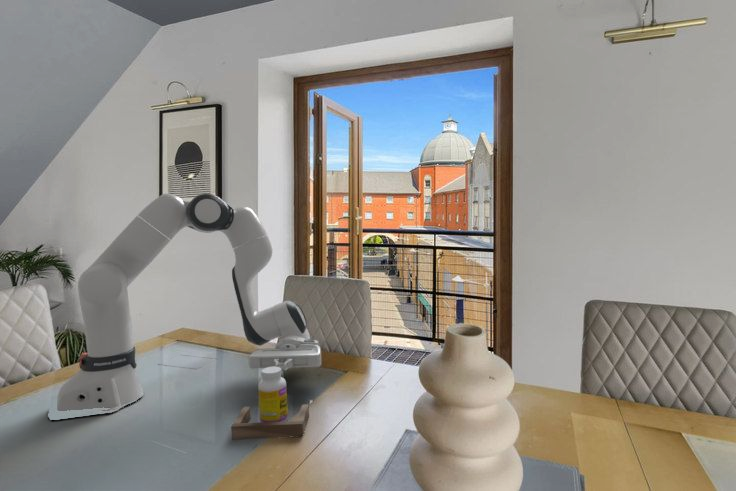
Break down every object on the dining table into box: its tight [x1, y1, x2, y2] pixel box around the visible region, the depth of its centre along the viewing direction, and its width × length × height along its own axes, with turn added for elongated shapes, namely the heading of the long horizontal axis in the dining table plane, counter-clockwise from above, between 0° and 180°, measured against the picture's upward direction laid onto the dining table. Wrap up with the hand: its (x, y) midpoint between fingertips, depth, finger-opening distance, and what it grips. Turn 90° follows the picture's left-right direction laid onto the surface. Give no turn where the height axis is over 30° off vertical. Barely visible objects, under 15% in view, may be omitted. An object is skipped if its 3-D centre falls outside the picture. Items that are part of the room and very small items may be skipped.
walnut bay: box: [230, 403, 310, 440], centre depth 104 cm, size 10×16×3 cm, turn 90°
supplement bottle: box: [257, 366, 289, 422], centre depth 106 cm, size 7×7×13 cm
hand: (280, 367), depth 117 cm, fingers closed
